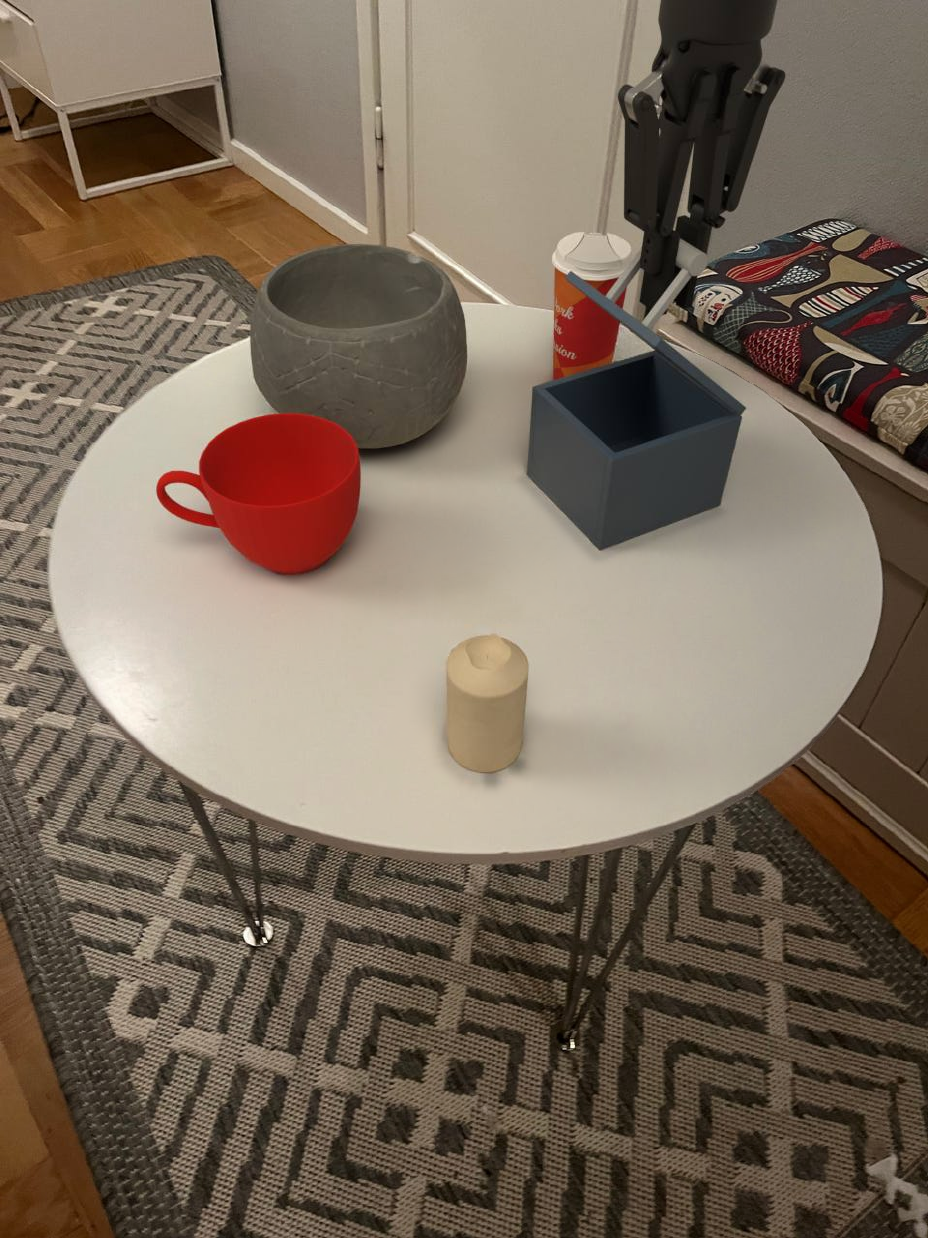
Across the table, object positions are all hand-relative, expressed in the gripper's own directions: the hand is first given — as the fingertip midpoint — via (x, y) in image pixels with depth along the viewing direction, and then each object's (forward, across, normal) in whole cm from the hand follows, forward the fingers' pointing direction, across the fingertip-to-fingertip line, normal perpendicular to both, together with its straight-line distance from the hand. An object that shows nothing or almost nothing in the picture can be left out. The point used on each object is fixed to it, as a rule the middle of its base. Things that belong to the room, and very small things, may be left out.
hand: (665, 303), depth 78 cm
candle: (+19, +28, +20) cm, 39 cm away
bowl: (+19, +18, -22) cm, 34 cm away
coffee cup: (+19, -6, -18) cm, 26 cm away
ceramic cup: (+19, +34, -8) cm, 40 cm away
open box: (+19, +2, 0) cm, 19 cm away
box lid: (+4, 0, 0) cm, 4 cm away
